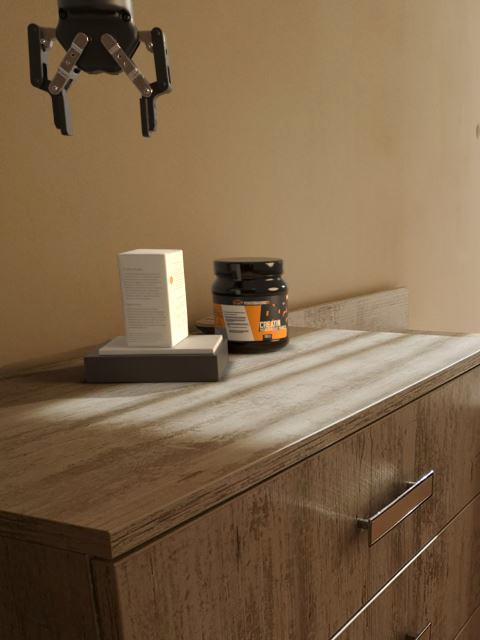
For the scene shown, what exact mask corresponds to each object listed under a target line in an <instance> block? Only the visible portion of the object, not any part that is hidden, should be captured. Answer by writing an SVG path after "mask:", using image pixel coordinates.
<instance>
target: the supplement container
mask: <svg viewBox="0 0 480 640" xmlns="http://www.w3.org/2000/svg"><path fill="white" fill-rule="evenodd" d="M212 268H213V269H212V270H213V275H214V276H215V280H214V281H213V282H212V283H211V285H210V293H211V295H212V308H213V324H214V335H222V338H227V346H228V353H233V354H234V353H236V354H261V353H271V352H278V351H281V350H283V349H285V348H286V347H288V345H289V344H290V341H291V335H290V320H289V293H288V292H289V284H288V283H287V282H286V280H285V279H284V277H283V275H284V274H285V261H284V259H283V258H280V257H266V256H237V257H235V256H234V257H221V258H215V259H214V260H213V261H212Z"/></svg>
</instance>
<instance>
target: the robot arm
mask: <svg viewBox="0 0 480 640" xmlns="http://www.w3.org/2000/svg"><path fill="white" fill-rule="evenodd" d="M56 3H57V13H58V20H57V24H56V27H50V26H40V25H39V24H36V23H34V22H30V23H29V24H28V25H27V30H26V31H27V46H28V49H27V50H28V65H29V67H28V68H29V81H30V84H31V86H32V87H34V88H35V89H38V90H41V91H44V92H46V93H47V94H49V96H50V98H51V106H52V107H51V108H52V117H53V125H54V127H55V128H56V129H57V130H60V134H61V135H62V136H65V137H73V121H72V110H71V100H70V98H68V97H67V94H68V93H69V91H70V90H71V88H72V87H73V85H74V84H75V82H76V81H77V80H78V79H79V77H80V76H81V74H82V73H86V74H88V75H100V74H107V75H110V76H120V74H122V73H123V72H124V74H125V75H126V76H127V78H128V79H129V80H130V81H131V83H132V84H133V85H134V86H135V88H136V89H137V90H138V92H139V93H140V94H141V97H139V113H140V124H141V135H142V137H143V138H150V139H151V138H152V137H153V132H155V133H156V132H157V129H158V115H157V114H158V113H157V100H158V98H159V97H161V96H163V95H167V94H168V95H169V94H171V93H172V91H173V82H172V73H171V65H170V64H171V63H170V55H169V47H168V39H167V38H168V37H167V34H166V33H165V32H164V31H163V29H161V28H160V27H158V26H154V27H153V28H152V29H150V30H138V27H137V26H136V22H135V9H134V0H56ZM55 41H57V42H58V43H59V44H60V45H61V47H62V49H63V50H64V51H65V54H64V57H63V58H62V60H61V61H60V63H59V65H58V67H57V71H56V72H55V74H54V76H53V78H51V80H50V79H49V77H50V75H49V58H48V52H49V51H51V50H52V49H53V46H54V43H55ZM141 43H143V44H144V45H145V48H146V50H147V52H149V53H150V54H151V55H153V61H154V63H153V64H154V70H155V78H156V80H155V81H153V82H149V80H148V79H147V78H146V76H145V75H144V74H143V72H142V71H141V69H140V68H139V67H138V65H137V64H136V63H135V61H134V60H133V57H134V56H135V54H136V52H137V50H138V49H139V47H140V45H141Z"/></svg>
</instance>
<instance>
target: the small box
mask: <svg viewBox="0 0 480 640" xmlns="http://www.w3.org/2000/svg"><path fill="white" fill-rule="evenodd" d="M183 255H184V254H183V250H182V249H172V248H171V249H166V248H165V249H162V248H159V249H158V248H157V249H156V248H154V249H153V248H136V249H132V250H129V251H124V252H120V253H117V254H116V257H117V268H118V275H119V277H118V278H119V287H120V295H121V303H122V313H123V314H122V315H123V323H124V332H125V333H124V334H125V336H126V344H127V347H173V346H174V345H176V344H177V343H179V342H180V341H181V340H183V339H184V338H186V337H187V336H188V335H189V324H188V323H189V322H188V310H187V296H186V295H187V294H186V283H185V281H186V279H185V271H184V256H183Z"/></svg>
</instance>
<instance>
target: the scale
mask: <svg viewBox="0 0 480 640" xmlns="http://www.w3.org/2000/svg"><path fill="white" fill-rule="evenodd" d="M83 363H84V364H83V365H84V372H85V373H84V374H85V381H86V383H87V384H99V383H100V384H101V383H103V384H104V383H105V384H107V383H109V384H110V383H113V384H115V383H173V382H174V383H175V382H176V383H177V382H179V383H180V382H181V383H182V382H183V383H184V382H185V383H186V382H188V383H189V382H219V381H220V379H221V378H222V375H223V373H224V371H225V369H226V367H227V365H228V363H229V352H228V346H227V338H222V335H215V334H188V336H187V337H186V338H184V339H183V340H181V341H180V342H179V343H177V344H176V345H174V346H173V347H127V344H126V335H117V336H115V337H114V338H113V339H107V340H106V341H104V342H103V343H101V344H99V346H97V347H96V348H94V349H93V350H91V351H90V352H88V353H87V354H86V355H85V356H83Z"/></svg>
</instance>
